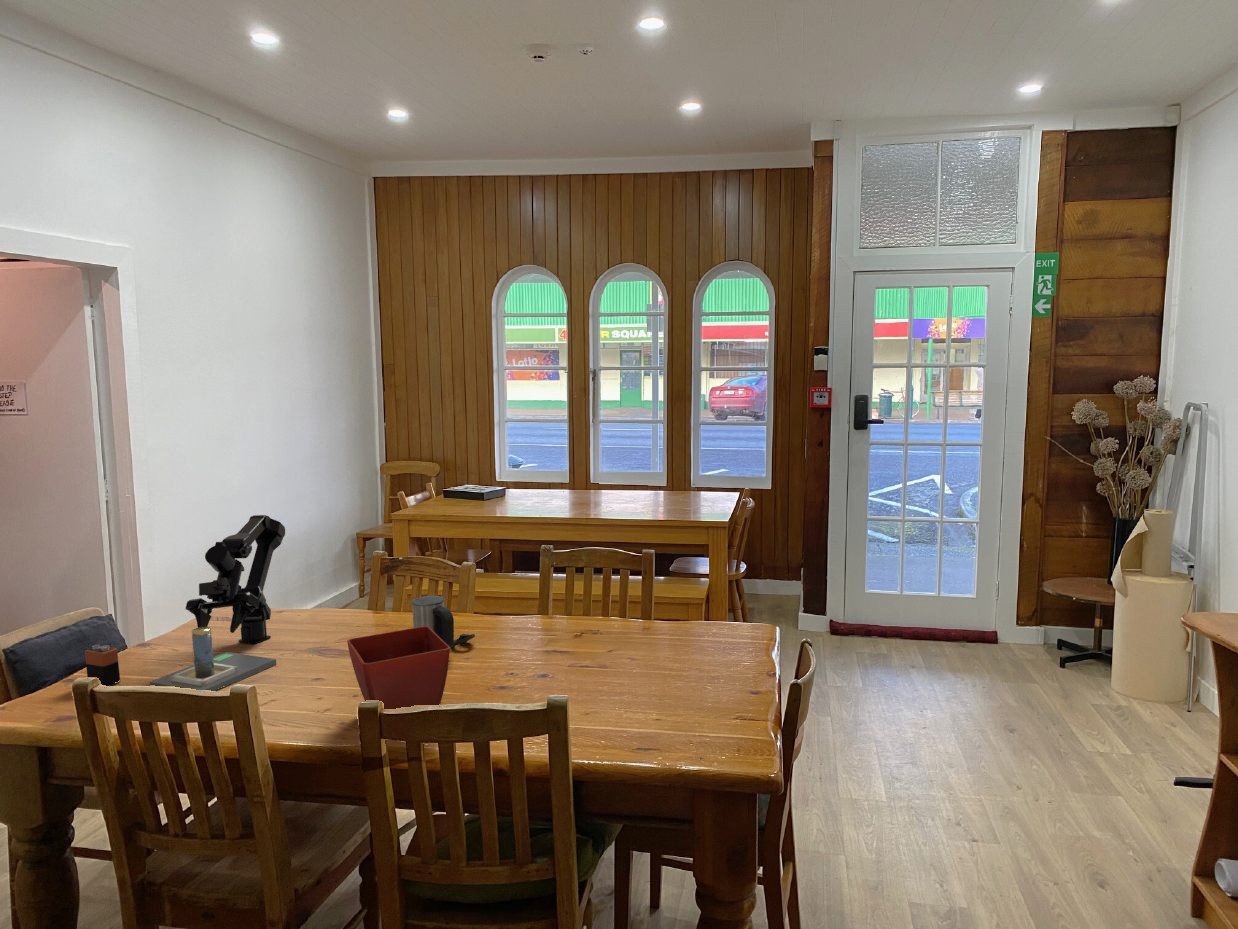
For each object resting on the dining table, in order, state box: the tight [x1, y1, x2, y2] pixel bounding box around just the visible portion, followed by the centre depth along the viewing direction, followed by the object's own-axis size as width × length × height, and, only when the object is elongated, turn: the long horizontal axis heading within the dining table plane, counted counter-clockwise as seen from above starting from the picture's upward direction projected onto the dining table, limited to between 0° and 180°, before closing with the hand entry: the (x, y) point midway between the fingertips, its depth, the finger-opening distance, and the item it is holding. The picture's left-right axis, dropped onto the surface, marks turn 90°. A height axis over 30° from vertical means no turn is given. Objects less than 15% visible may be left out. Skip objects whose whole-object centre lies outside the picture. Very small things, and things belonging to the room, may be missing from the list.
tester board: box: [149, 651, 277, 692], centre depth 226 cm, size 24×18×3 cm
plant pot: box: [346, 626, 451, 709], centre depth 197 cm, size 19×19×17 cm
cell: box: [191, 626, 215, 678], centre depth 221 cm, size 4×4×12 cm
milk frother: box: [410, 595, 476, 649], centre depth 242 cm, size 14×16×15 cm
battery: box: [84, 644, 121, 687], centre depth 222 cm, size 4×7×10 cm, turn 67°
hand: (216, 634), depth 230 cm, fingers open, 9 cm apart
